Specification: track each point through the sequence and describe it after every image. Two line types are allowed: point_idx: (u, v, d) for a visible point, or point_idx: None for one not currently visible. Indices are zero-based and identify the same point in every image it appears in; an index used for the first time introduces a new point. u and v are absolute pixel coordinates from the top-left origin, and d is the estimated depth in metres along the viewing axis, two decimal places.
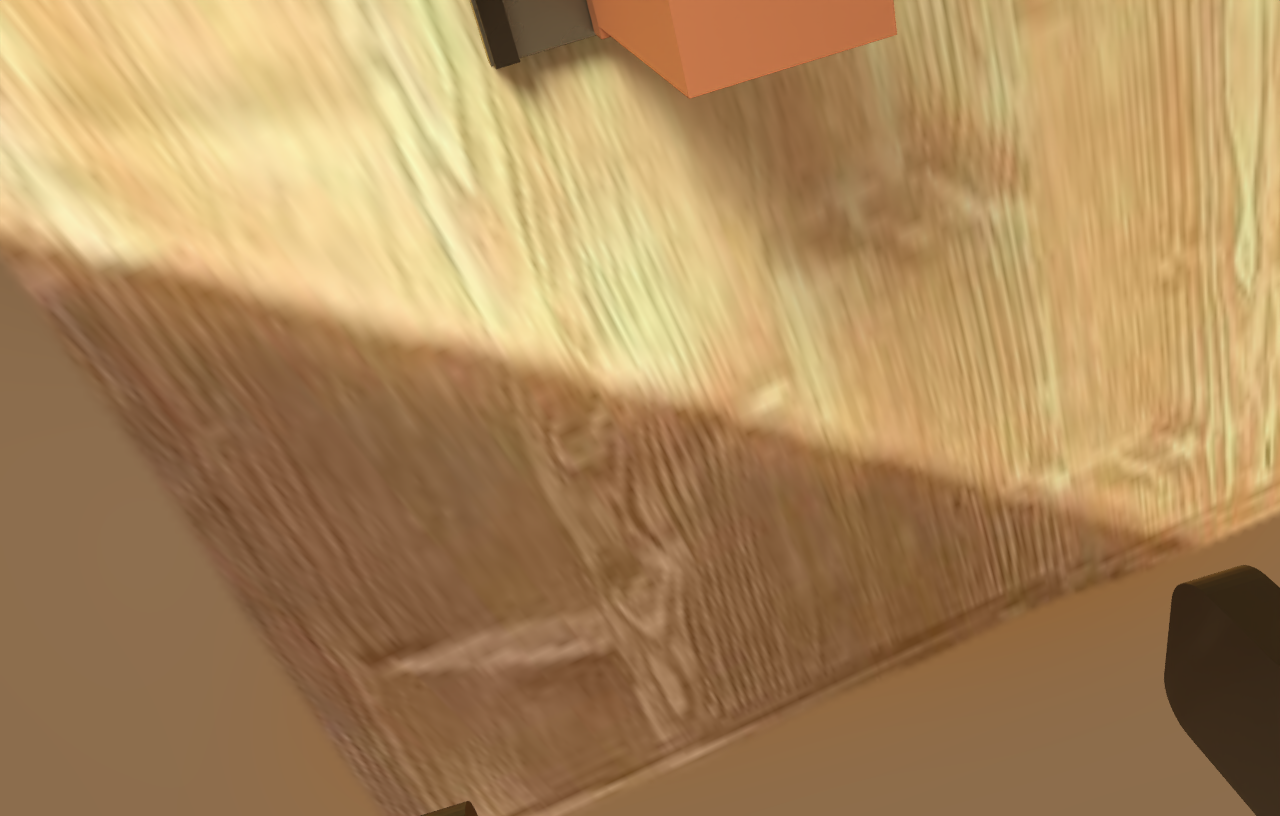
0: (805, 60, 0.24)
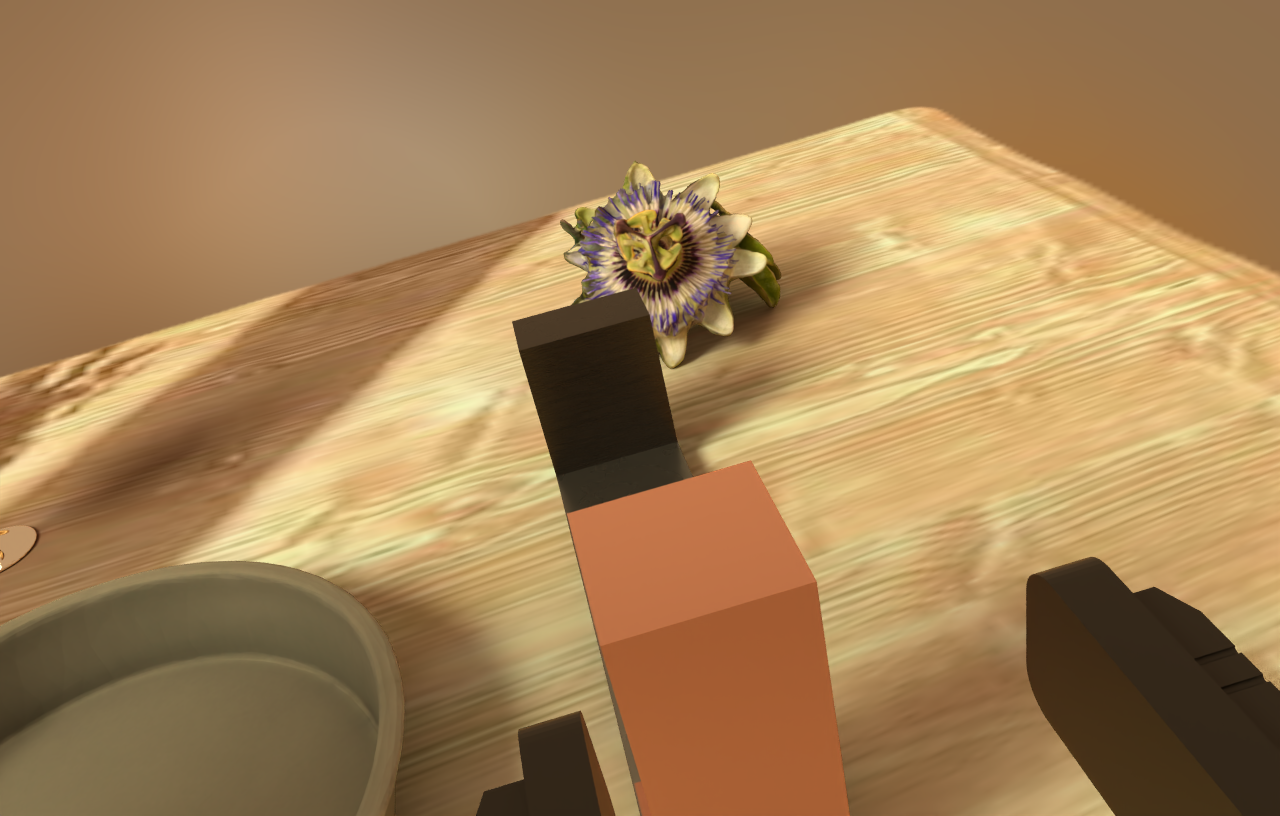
0: (775, 509, 0.26)
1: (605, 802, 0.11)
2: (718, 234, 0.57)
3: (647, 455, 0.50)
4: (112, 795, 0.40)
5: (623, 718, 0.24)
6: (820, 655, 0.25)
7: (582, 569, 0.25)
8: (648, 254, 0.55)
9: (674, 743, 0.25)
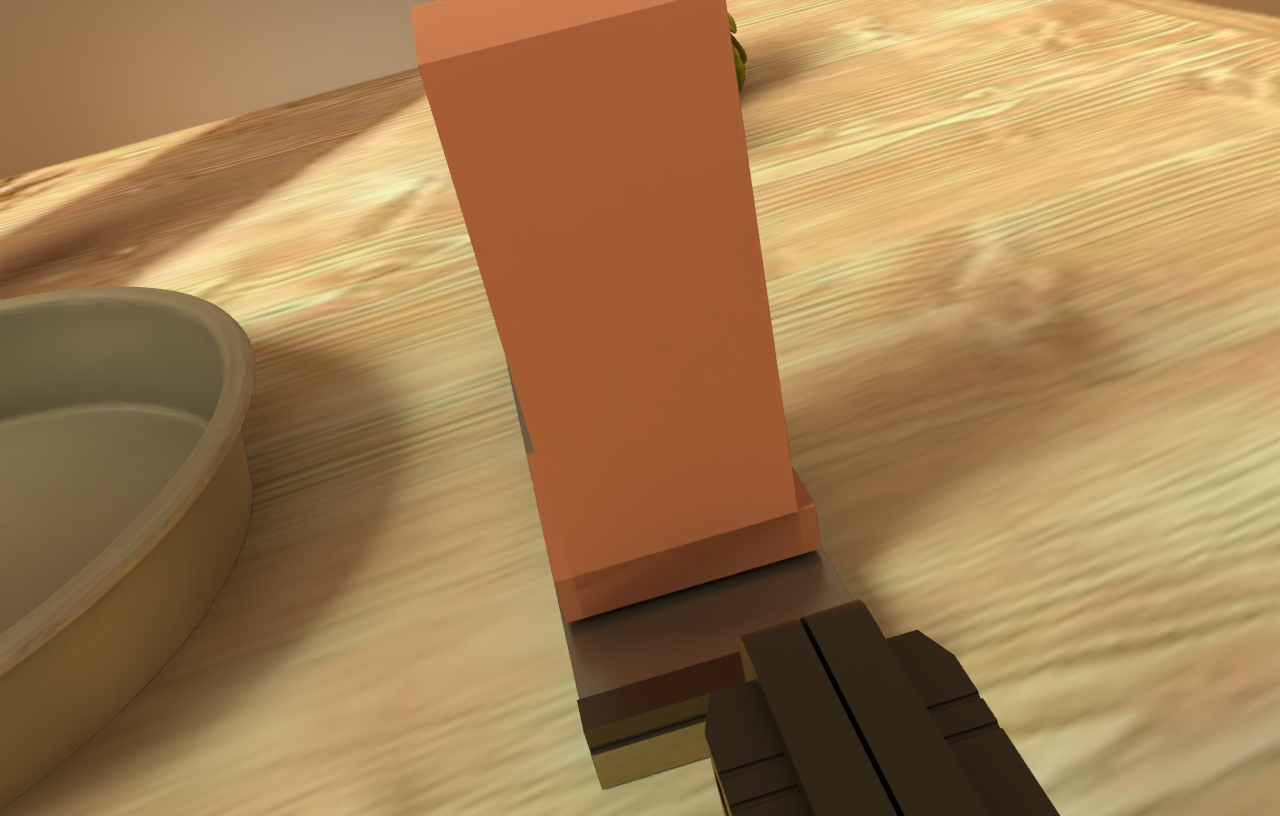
0: None
1: None
2: None
3: None
4: None
5: (462, 206, 0.18)
6: (735, 129, 0.18)
7: (415, 30, 0.19)
8: None
9: (537, 261, 0.19)
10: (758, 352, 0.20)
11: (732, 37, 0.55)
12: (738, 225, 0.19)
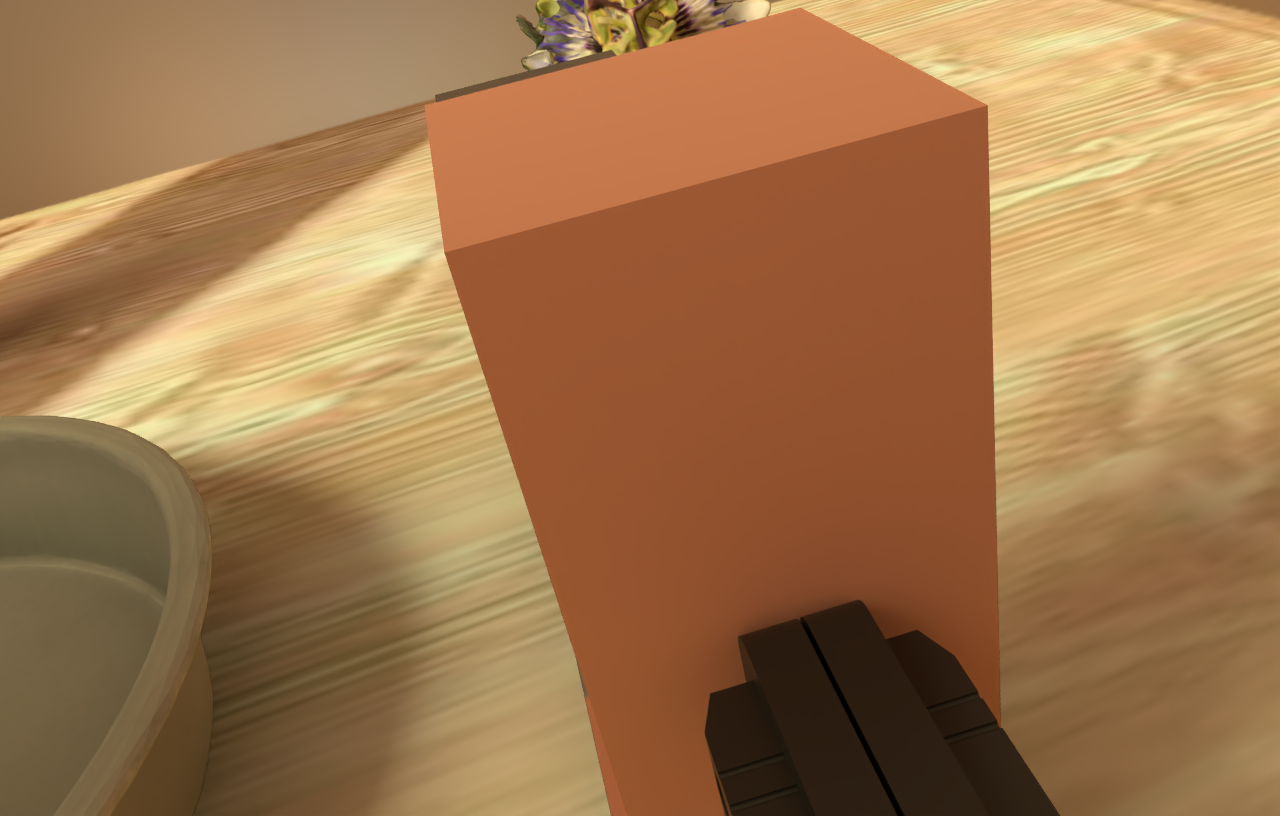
0: (862, 42, 0.12)
1: None
2: (726, 21, 0.43)
3: None
4: None
5: (519, 470, 0.10)
6: (978, 330, 0.11)
7: (435, 159, 0.11)
8: (631, 34, 0.40)
9: (640, 543, 0.11)
10: (973, 644, 0.13)
11: None
12: (965, 472, 0.12)
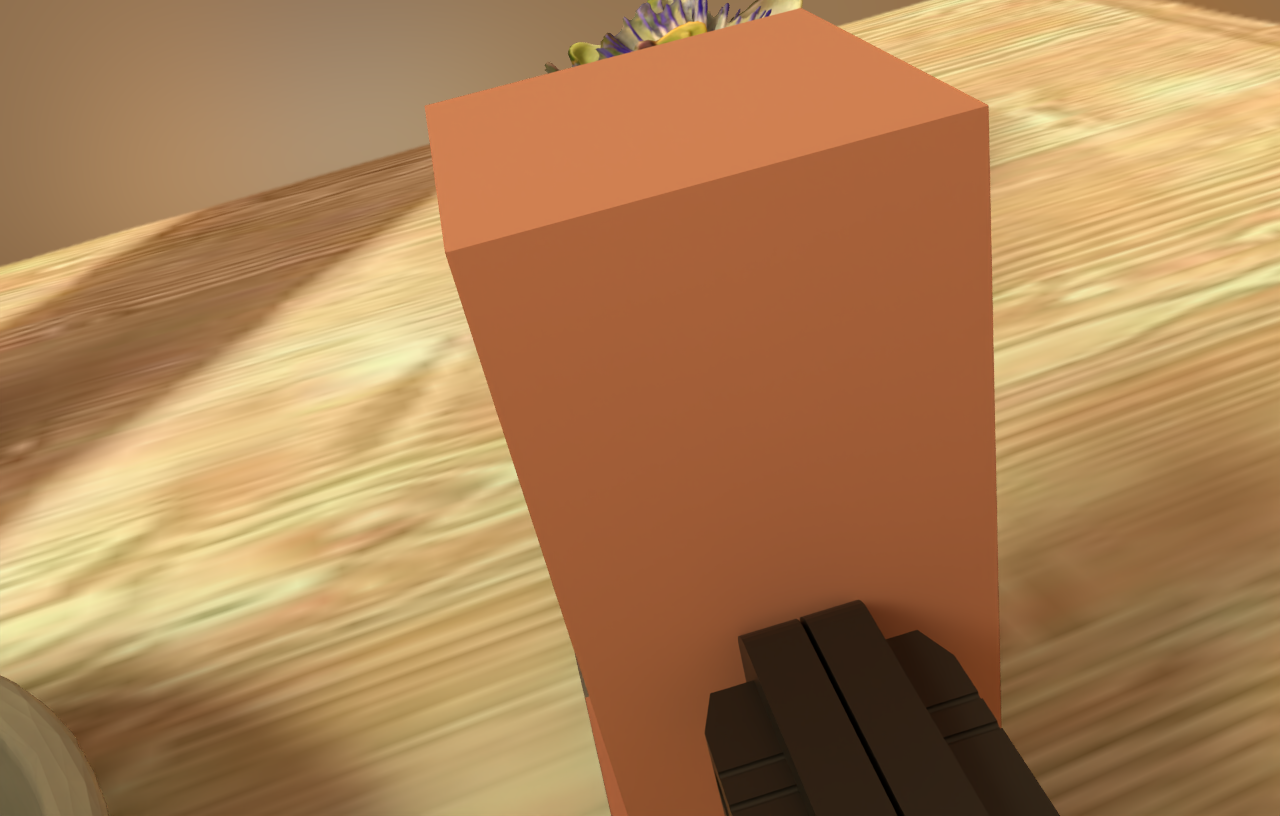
0: (863, 42, 0.12)
1: None
2: None
3: None
4: None
5: (519, 471, 0.10)
6: (978, 330, 0.11)
7: (435, 159, 0.11)
8: None
9: (641, 542, 0.11)
10: (974, 644, 0.13)
11: None
12: (966, 472, 0.12)
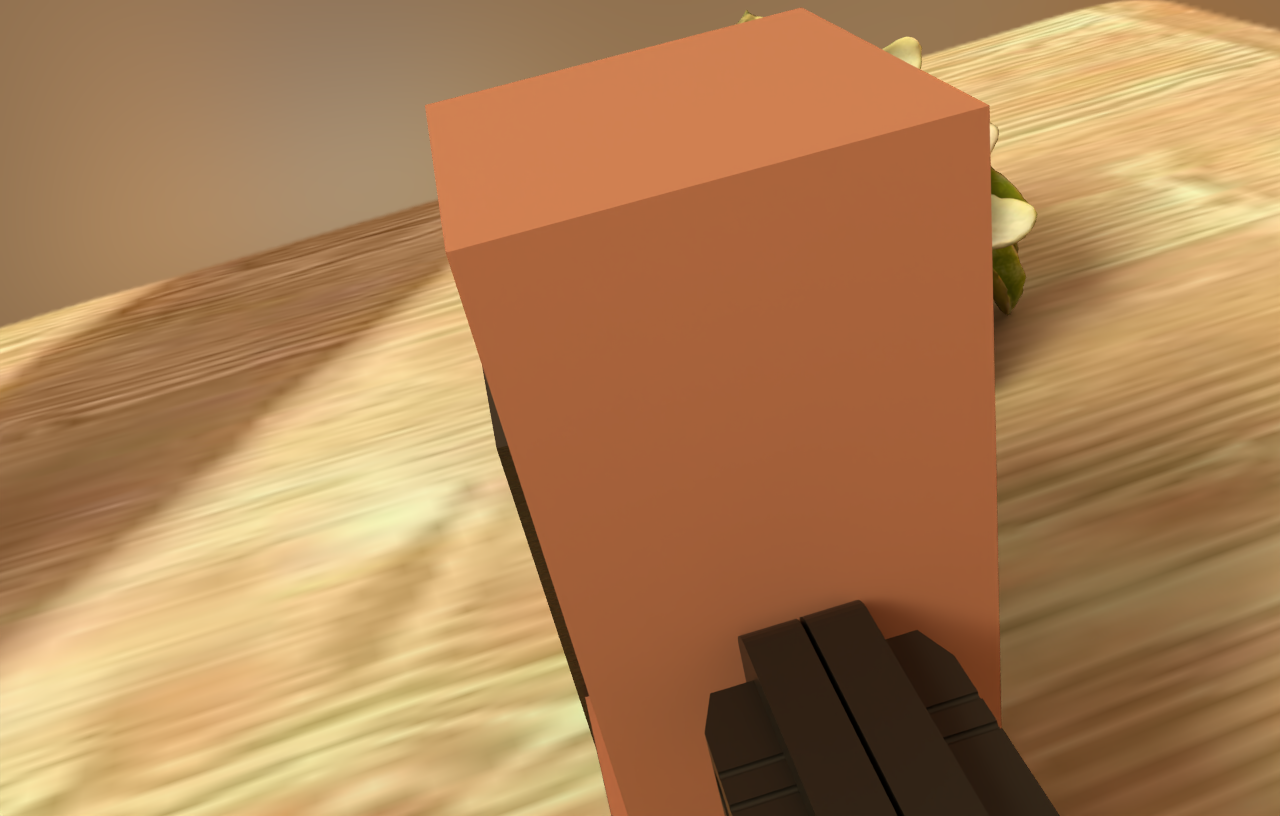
0: (863, 42, 0.12)
1: None
2: None
3: None
4: None
5: (520, 471, 0.10)
6: (979, 330, 0.11)
7: (436, 159, 0.11)
8: None
9: (641, 543, 0.11)
10: (974, 644, 0.13)
11: None
12: (966, 472, 0.12)
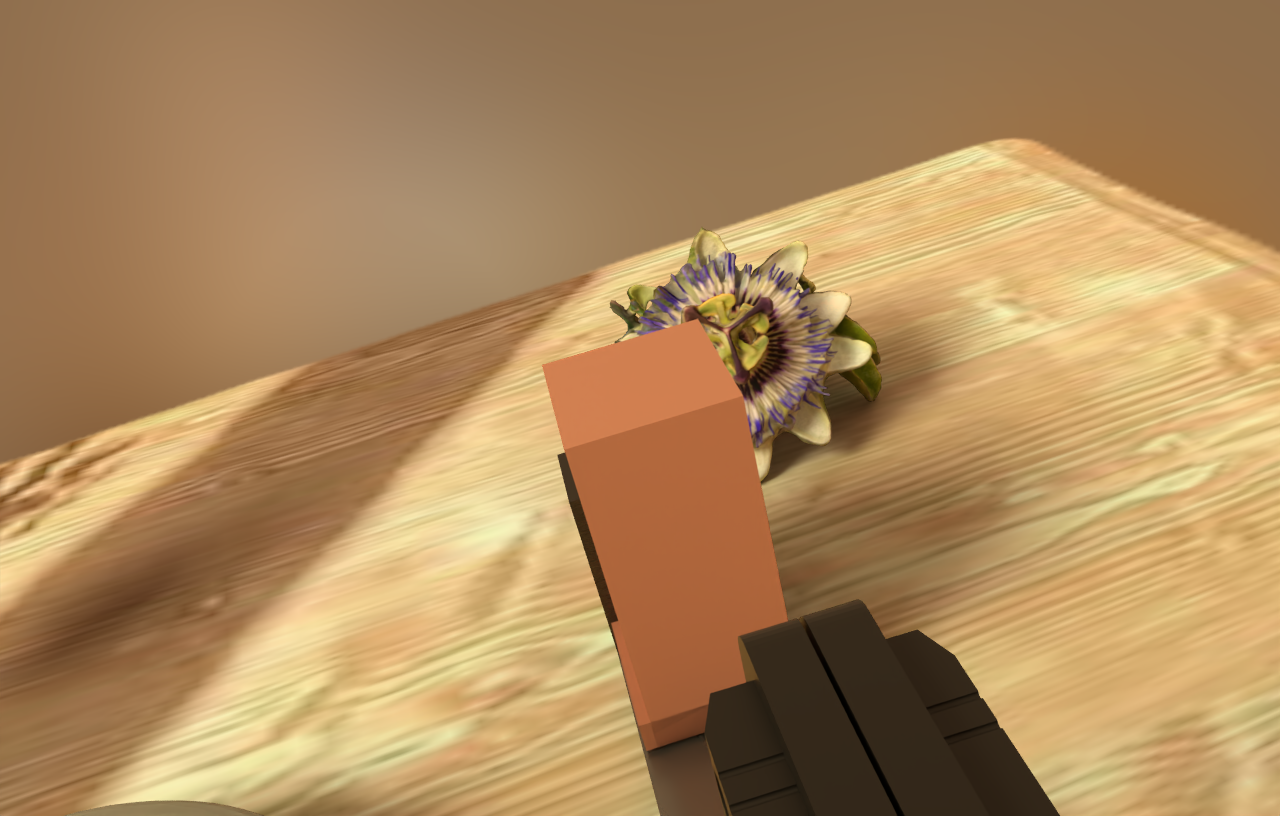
0: (714, 350, 0.31)
1: None
2: (810, 319, 0.46)
3: None
4: None
5: (587, 518, 0.29)
6: (751, 465, 0.30)
7: (552, 401, 0.30)
8: (726, 351, 0.43)
9: (631, 543, 0.30)
10: (769, 583, 0.32)
11: None
12: (754, 515, 0.30)
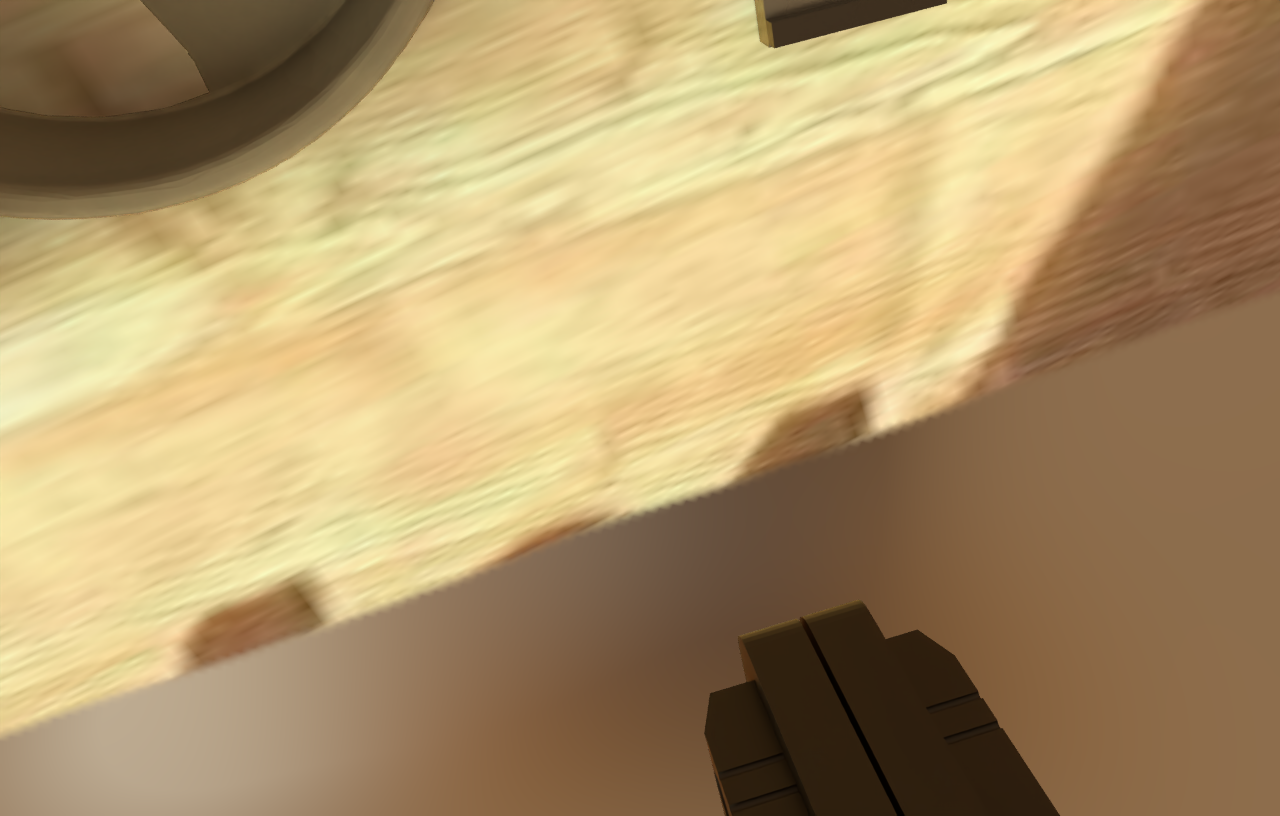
0: None
1: None
2: None
3: None
4: None
5: None
6: None
7: None
8: None
9: None
10: None
11: None
12: None
